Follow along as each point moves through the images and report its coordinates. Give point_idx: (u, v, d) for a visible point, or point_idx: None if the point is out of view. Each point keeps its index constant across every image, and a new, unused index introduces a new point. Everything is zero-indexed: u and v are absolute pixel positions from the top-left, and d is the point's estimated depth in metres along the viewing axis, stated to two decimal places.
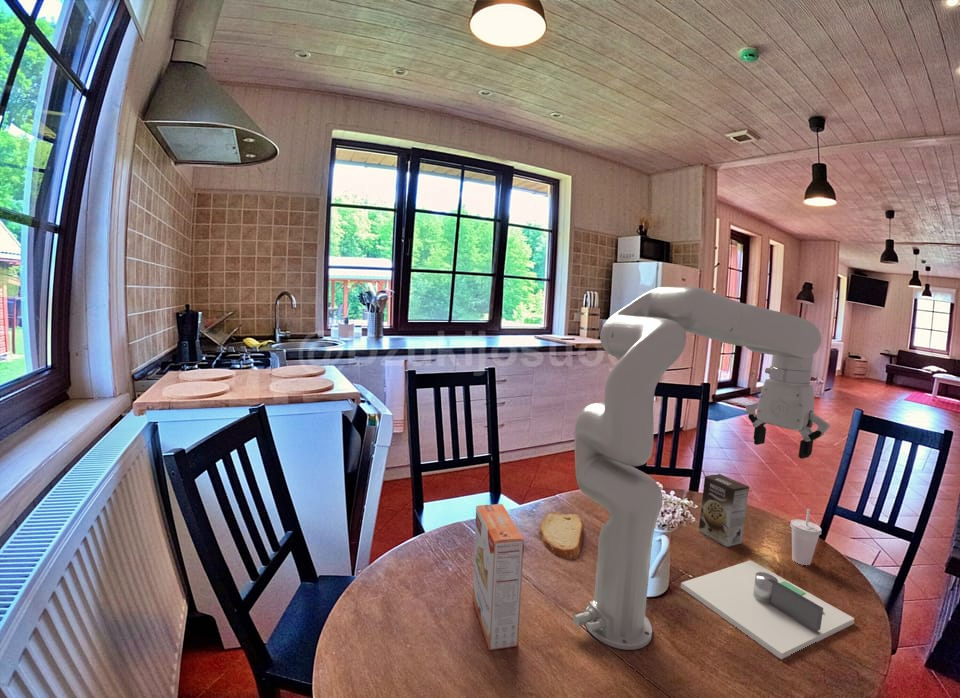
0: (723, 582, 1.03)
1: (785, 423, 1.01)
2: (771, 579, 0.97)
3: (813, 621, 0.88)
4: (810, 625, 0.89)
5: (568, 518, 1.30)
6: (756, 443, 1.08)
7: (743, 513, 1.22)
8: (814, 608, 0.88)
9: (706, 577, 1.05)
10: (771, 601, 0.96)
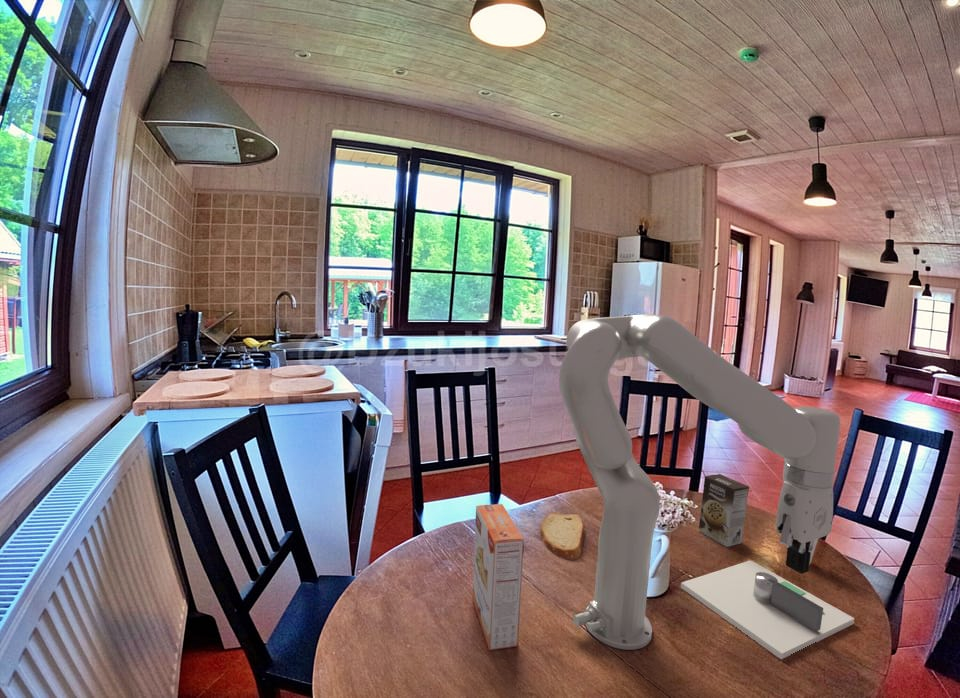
0: (723, 582, 1.03)
1: (823, 532, 0.84)
2: (771, 579, 0.97)
3: (813, 621, 0.88)
4: (810, 625, 0.89)
5: (569, 518, 1.30)
6: None
7: (743, 513, 1.22)
8: (814, 608, 0.88)
9: (706, 577, 1.05)
10: (771, 601, 0.96)
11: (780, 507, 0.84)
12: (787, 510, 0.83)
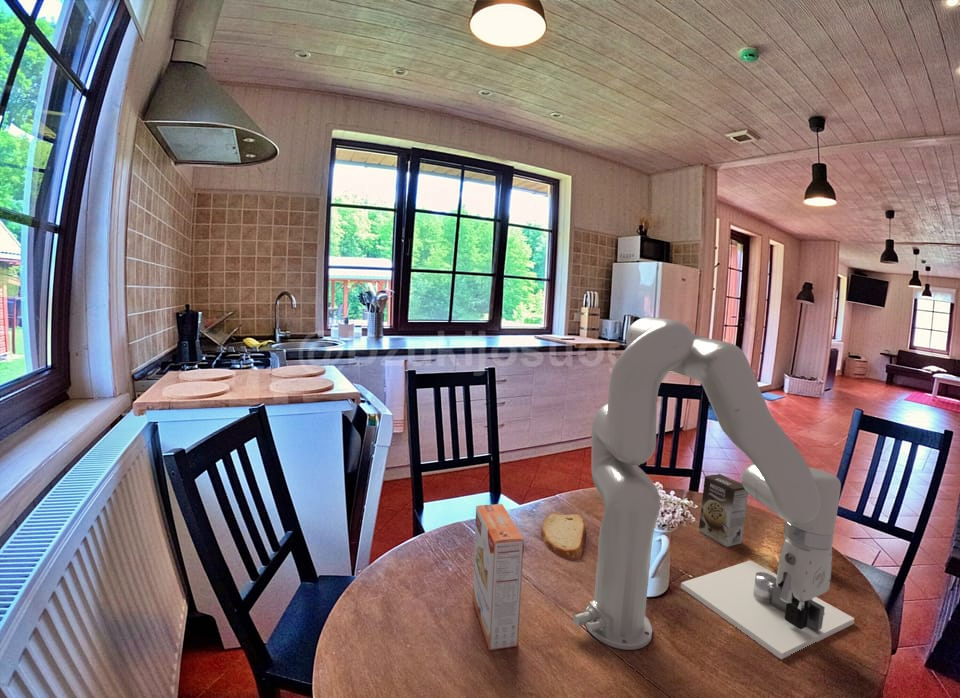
0: (723, 582, 1.03)
1: (822, 590, 0.87)
2: (771, 578, 0.97)
3: (815, 620, 0.89)
4: (812, 624, 0.89)
5: (570, 518, 1.30)
6: None
7: (743, 513, 1.22)
8: (816, 607, 0.88)
9: (706, 577, 1.05)
10: (772, 601, 0.96)
11: (781, 565, 0.87)
12: (788, 569, 0.86)
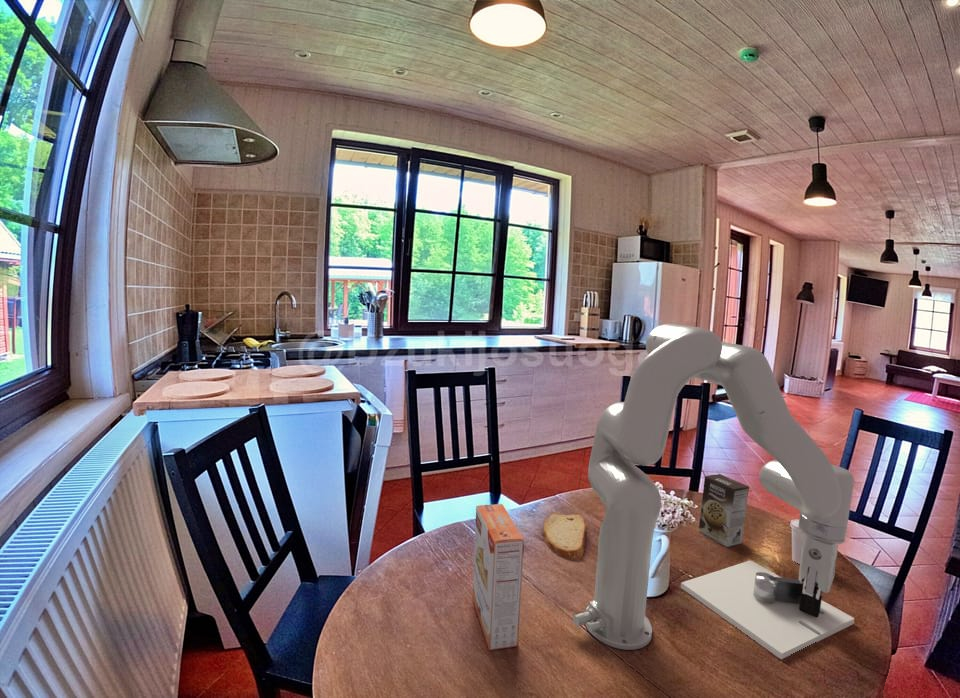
0: (723, 582, 1.03)
1: (833, 577, 0.92)
2: (768, 576, 0.98)
3: None
4: None
5: (571, 519, 1.30)
6: None
7: (743, 513, 1.22)
8: None
9: (706, 577, 1.05)
10: (776, 598, 0.97)
11: (804, 561, 0.90)
12: (813, 564, 0.88)
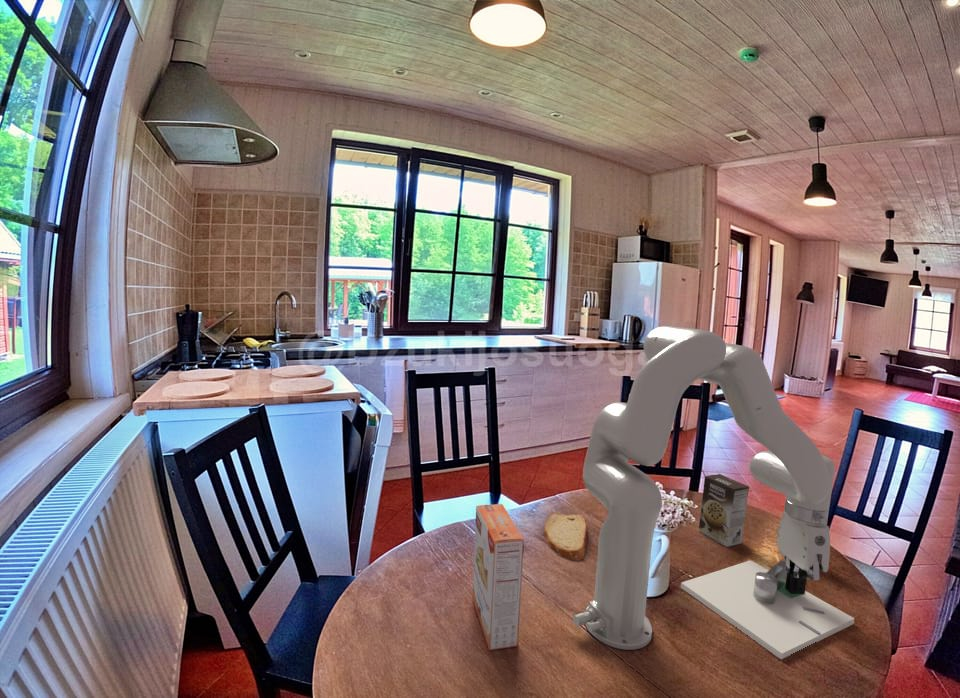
0: (723, 582, 1.03)
1: None
2: (763, 575, 0.98)
3: (786, 575, 1.03)
4: (784, 581, 1.03)
5: (572, 519, 1.30)
6: None
7: (743, 513, 1.22)
8: None
9: (706, 577, 1.05)
10: None
11: (811, 549, 0.93)
12: (819, 550, 0.93)
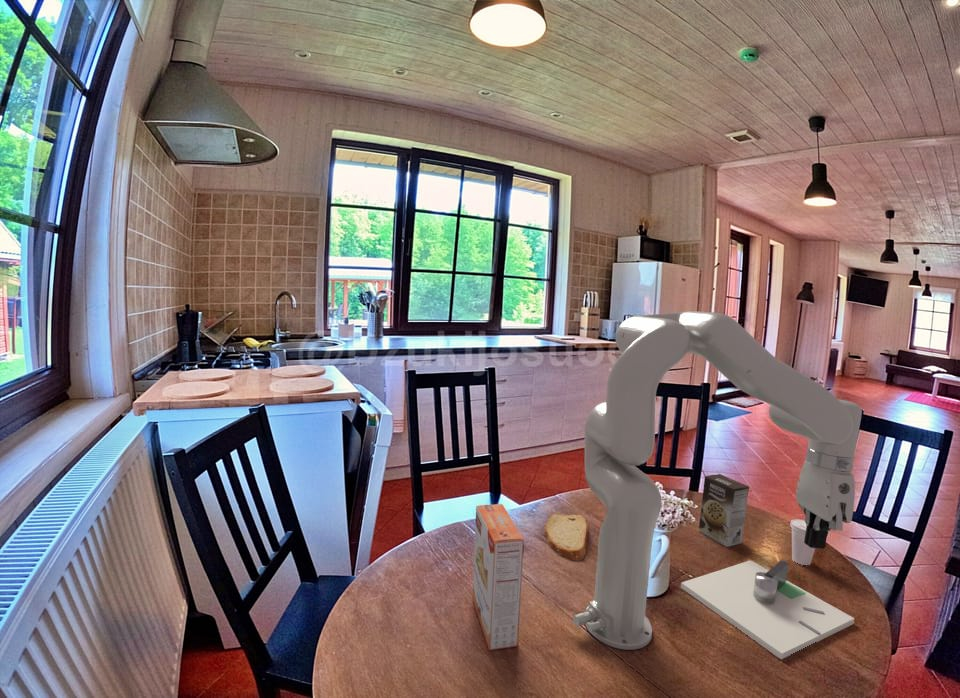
0: (723, 582, 1.03)
1: None
2: (763, 575, 0.98)
3: (786, 575, 1.03)
4: (784, 581, 1.03)
5: (572, 519, 1.30)
6: None
7: (743, 513, 1.22)
8: (787, 565, 1.03)
9: (706, 577, 1.05)
10: None
11: (835, 498, 0.89)
12: (843, 498, 0.88)
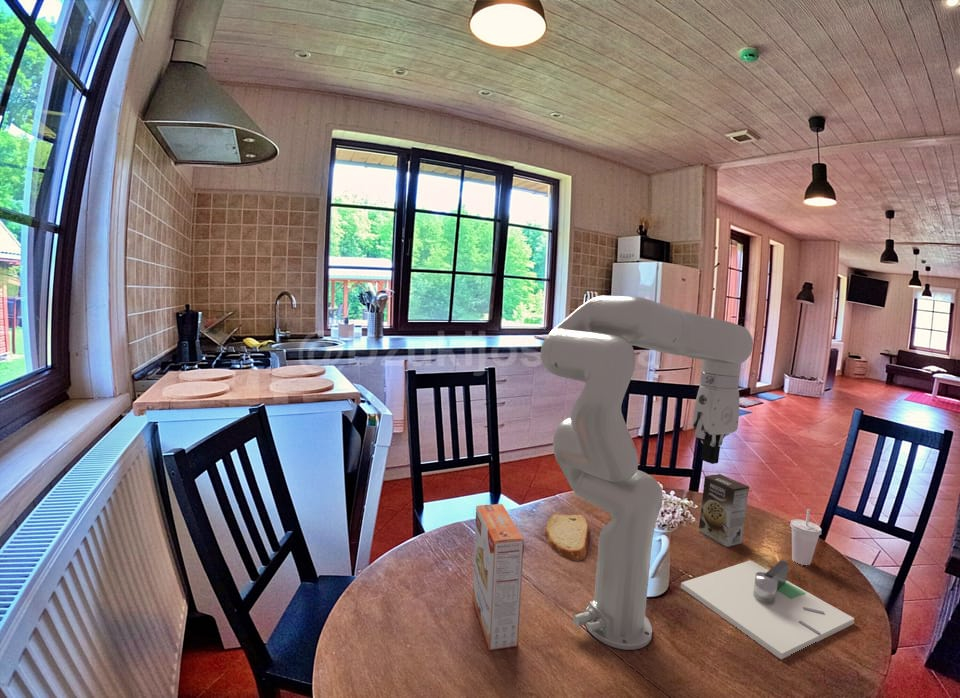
0: (723, 582, 1.03)
1: (730, 428, 1.01)
2: (763, 575, 0.98)
3: (786, 575, 1.03)
4: (784, 581, 1.03)
5: (573, 519, 1.30)
6: (714, 462, 1.02)
7: (743, 513, 1.22)
8: (787, 565, 1.03)
9: (706, 577, 1.05)
10: None
11: (696, 407, 1.01)
12: (700, 408, 1.00)
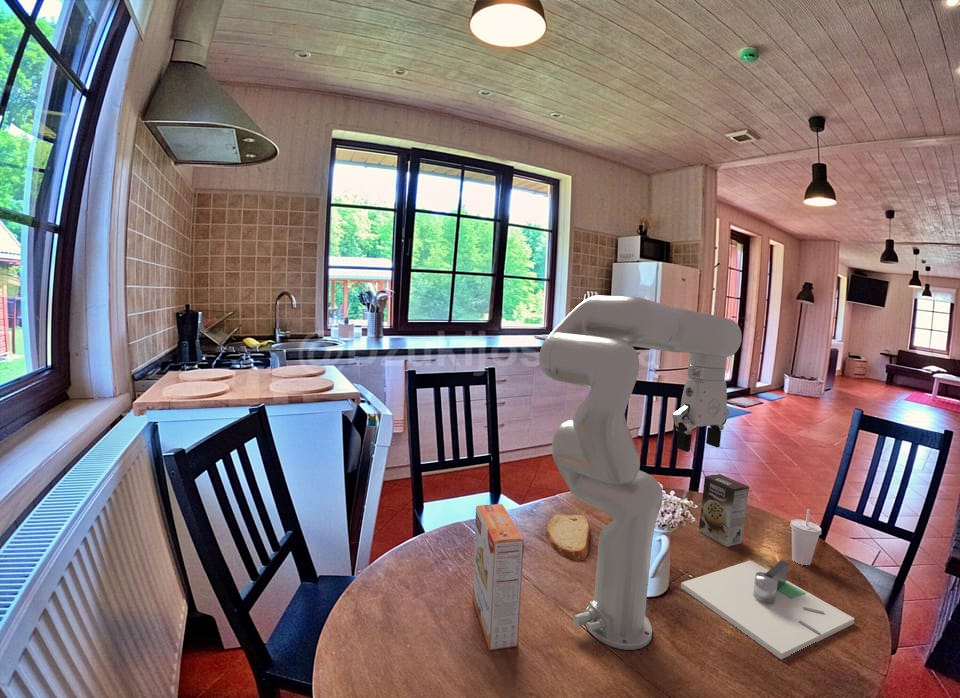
0: (723, 582, 1.03)
1: (717, 420, 1.03)
2: (763, 575, 0.98)
3: (786, 575, 1.03)
4: (784, 581, 1.03)
5: (574, 519, 1.30)
6: (689, 450, 1.02)
7: (743, 513, 1.22)
8: (787, 565, 1.03)
9: (706, 577, 1.05)
10: None
11: (683, 399, 1.03)
12: (687, 400, 1.02)
